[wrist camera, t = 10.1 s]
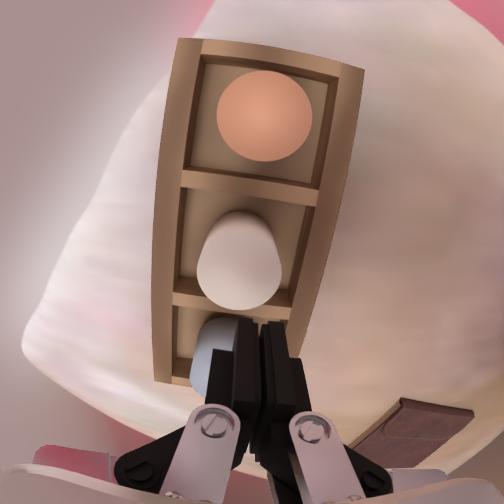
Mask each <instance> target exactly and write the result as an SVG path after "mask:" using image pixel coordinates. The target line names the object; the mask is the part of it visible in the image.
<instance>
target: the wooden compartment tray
mask: <svg viewBox="0 0 504 504" xmlns="http://www.w3.org/2000/svg"><path fill="white" fill-rule="evenodd" d="M254 71H273V72H278V73H281V74H283V75H286V76H287V77H289V78H291V79H292V80H294V81H295V82H296V83H297V84H298V85H300V87H301V88H302V89H303V90H304V92H305V93H306V95H307V97H308V99H309V101H310V104H311V109H312V125H311V129H310V132H309V134H308V136H307V138H306V140H305V141H304V143H303V144H302V145H301V146H300V147H299V148H298V149H297V150H296V151H295V152H294V153H292V154H290V155H289V156H287V157H285V158H282V159H279V160H275V161H264V162H263V161H255V160H251V159H248V158H245V157H243V156H241V155H239V154H238V153H236V152H235V151H234V150H233V149H231V148H230V147H229V146H228V144H227V143H226V142H225V141H224V139H223V138H222V136H221V133H220V131H219V128H218V124H217V107H218V102H219V100H220V97H221V95H222V94H223V92H224V90H225V89H226V88H227V87H228V86H229V85H230V84H231V83H232V82H233V81H234V80H235V79H237V78H239V77H240V76H242V75H244V74H247V73H250V72H254ZM364 72H365V70H364V69H361V68H358V67H354V66H351V65H348V64H344V63H341V62H337V61H334V60H330V59H326V58H322V57H318V56H314V55H310V54H305V53H301V52H296V51H291V50H286V49H281V48H276V47H270V46H264V45H257V44H250V43H242V42H234V41H224V40H212V39H197V38H178V42H177V47H176V52H175V57H174V61H173V66H172V71H171V77H170V82H169V88H168V94H167V100H166V106H165V113H164V120H163V127H162V135H161V143H160V151H159V160H158V170H157V180H156V192H155V205H154V220H153V240H152V275H151V312H152V347H153V366H154V381H158V382H163V383H168V384H174V385H180V386H186V387H192V385H191V383H190V372H191V367H192V362H193V357H194V352H195V347H196V342H197V337H198V333H199V330H200V329H201V327H202V326H203V325H204V324H205V323H207V322H208V321H210V320H213V319H216V318H222V317H226V318H233V319H238V317H245V318H253V323H258V329H259V335H260V330H261V326H262V324H267V323H268V321H277V322H283V323H284V327H285V333H286V339H287V345H288V351H289V357H292V358H298V356H299V352H300V349H301V346H302V343H303V340H304V337H305V334H306V331H307V327H308V324H309V321H310V317H311V314H312V311H313V307H314V304H315V301H316V297H317V294H318V290H319V287H320V283H321V279H322V276H323V272H324V268H325V265H326V261H327V257H328V253H329V249H330V246H331V242H332V238H333V234H334V230H335V225H336V221H337V217H338V213H339V208H340V204H341V200H342V195H343V191H344V186H345V181H346V177H347V172H348V167H349V162H350V157H351V152H352V146H353V141H354V135H355V130H356V124H357V118H358V112H359V106H360V100H361V93H362V86H363V79H364ZM236 211H244V212H249V213H252V214H255V215H257V216H259V217H260V218H262V219H263V220H264V221H265V222H266V223H267V224H268V226H269V227H270V229H271V231H272V234H273V237H274V241H275V245H276V248H277V252H278V256H279V259H280V263H281V269H282V276H281V281H280V284H279V287H278V289H277V290H276V292H275V293H274V295H273V296H272V297H271V298H270V299H269V300H268V301H266V302H265V303H264V304H262V305H260V306H258V307H255V308H252V309H248V310H232V309H227V308H224V307H221V306H219V305H217V304H216V303H214V302H213V301H211V300H210V299H209V298H208V297H207V296H206V295H205V294H204V292H203V291H202V289H201V287H200V285H199V282H198V279H197V264H198V261H199V258H200V255H201V252H202V249H203V246H204V244H205V241H206V238H207V235H208V233H209V230H210V228H211V227H212V225H213V224H214V223H215V222H216V220H218V219H219V218H220V217H222V216H223V215H226V214H228V213H231V212H236Z"/></svg>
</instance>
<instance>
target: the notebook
mask: <svg viewBox="0 0 504 504" xmlns="http://www.w3.org/2000/svg"><path fill="white" fill-rule="evenodd" d="M400 400H401V401H398V402H397V403H396V404H395V405H394V406H393V407H392V408H391V409H390V410H388V411H387V412H386V413H385V414H384V415H383V416H382V417H381V418H380V419H379V420H378V421H377V422H376V423H374V424H373V425H372V426H371V427H370V428H369V429H368V430H366V431H365V432H364V433H363V434H362V435H361V436H359V437H358V438H357V439H356V440H355V441H353V442H352V443H351V444H350V445H349V446H348V447H349V448H351V449H353V450H354V451H356V452H357V453H359V454H361V455H362V456H364V457H366V458H367V459H369V460H371V461H372V462H374V463H376V464H377V465H379V466H381V467H382V468H413V467H415V466H416V465H418V464H419V463H420V462H422V461H423V460H424V459H426V458H427V457H428V456H430V455H431V454H432V453H433V452H435V451H436V450H437V449H438V448H440V447H441V446H442V445H443V444H444V443H445V442H447V441H448V440H449V439H450V438H451V437H452V436H454V435H455V434H457V433H458V432H459V431H461V430H462V429H463V428H464V427H465V426H466V425H467V424H468V423H469V422H470V421H471V420H472V419H473V418H474V417H475V416H474V412H473V411H471V410H464V409H458V408H451V407H445V406H440V405H434V404H429V403H423V402H418V401H414V400H409V399H404V398H400Z"/></svg>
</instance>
